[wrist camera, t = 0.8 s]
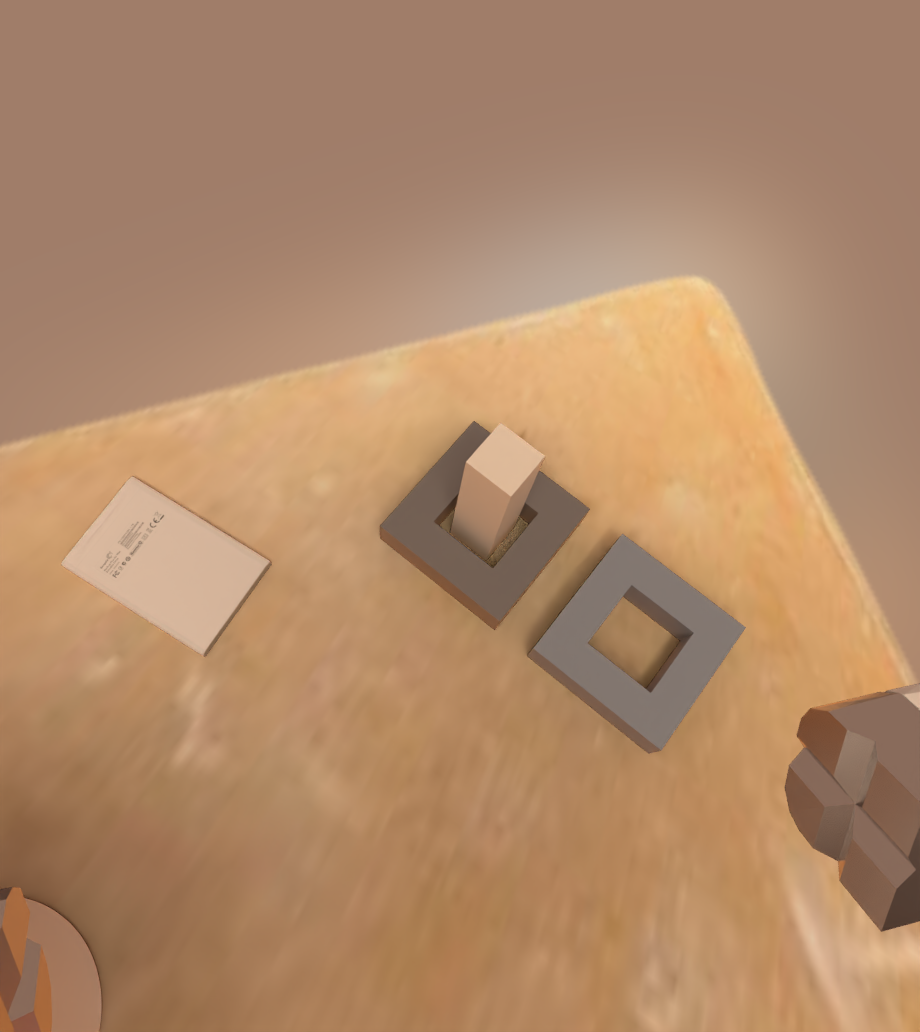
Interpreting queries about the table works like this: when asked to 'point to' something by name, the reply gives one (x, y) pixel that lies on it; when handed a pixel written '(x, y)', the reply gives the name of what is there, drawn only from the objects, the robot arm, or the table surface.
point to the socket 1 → (454, 563)
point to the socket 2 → (668, 604)
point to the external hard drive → (167, 565)
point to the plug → (494, 490)
